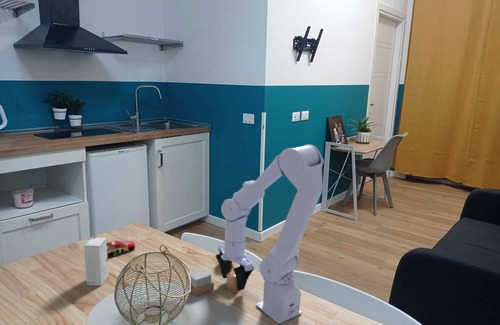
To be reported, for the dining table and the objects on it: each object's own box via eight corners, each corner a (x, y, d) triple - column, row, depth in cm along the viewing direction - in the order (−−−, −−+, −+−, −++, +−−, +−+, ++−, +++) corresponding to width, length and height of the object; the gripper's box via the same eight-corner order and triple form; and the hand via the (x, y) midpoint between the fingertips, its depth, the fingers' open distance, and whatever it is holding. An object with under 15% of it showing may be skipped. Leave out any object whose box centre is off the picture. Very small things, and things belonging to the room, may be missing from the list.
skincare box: (101, 286, 104) (99, 246, 101) (85, 285, 103) (83, 245, 101) (109, 275, 110) (107, 237, 107) (93, 274, 110) (92, 236, 107)
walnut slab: (213, 291, 104) (213, 283, 104) (194, 298, 101) (194, 290, 100) (203, 282, 109) (203, 274, 108) (184, 288, 105) (184, 280, 105)
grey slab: (211, 283, 104) (211, 275, 103) (195, 288, 101) (195, 280, 100) (201, 275, 108) (202, 267, 107) (186, 280, 105) (186, 272, 104)
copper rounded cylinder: (242, 289, 105) (243, 276, 105) (231, 293, 103) (231, 280, 102) (235, 282, 109) (235, 270, 108) (223, 286, 106) (224, 274, 105)
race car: (131, 245, 131) (131, 234, 130) (138, 250, 127) (138, 239, 126) (93, 255, 122) (93, 244, 121) (100, 261, 118) (99, 249, 117)
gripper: (209, 233, 106) (208, 276, 109) (238, 252, 95) (236, 299, 97) (229, 228, 110) (228, 269, 113) (259, 246, 99) (257, 291, 102)
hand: (233, 283), depth 106 cm, fingers open, 7 cm apart
